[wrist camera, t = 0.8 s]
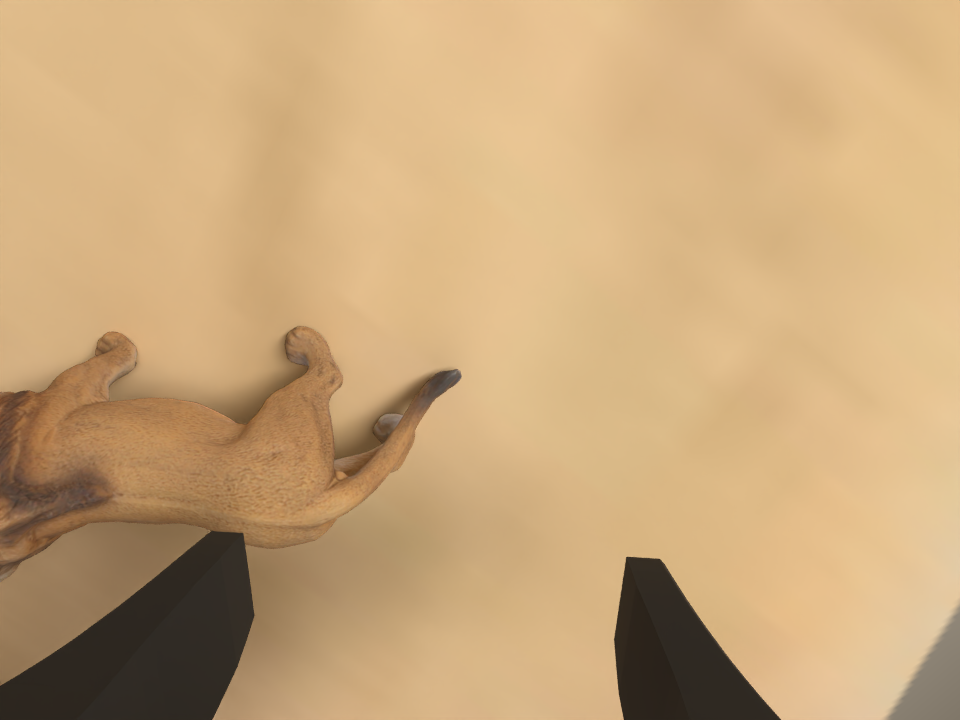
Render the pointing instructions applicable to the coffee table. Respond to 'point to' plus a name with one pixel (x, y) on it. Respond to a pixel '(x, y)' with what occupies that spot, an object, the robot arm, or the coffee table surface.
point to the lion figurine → (187, 456)
